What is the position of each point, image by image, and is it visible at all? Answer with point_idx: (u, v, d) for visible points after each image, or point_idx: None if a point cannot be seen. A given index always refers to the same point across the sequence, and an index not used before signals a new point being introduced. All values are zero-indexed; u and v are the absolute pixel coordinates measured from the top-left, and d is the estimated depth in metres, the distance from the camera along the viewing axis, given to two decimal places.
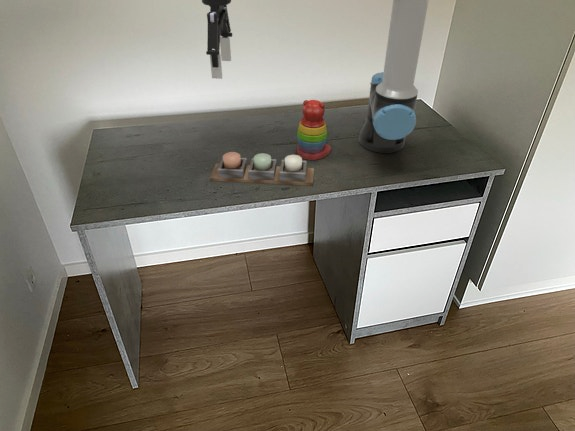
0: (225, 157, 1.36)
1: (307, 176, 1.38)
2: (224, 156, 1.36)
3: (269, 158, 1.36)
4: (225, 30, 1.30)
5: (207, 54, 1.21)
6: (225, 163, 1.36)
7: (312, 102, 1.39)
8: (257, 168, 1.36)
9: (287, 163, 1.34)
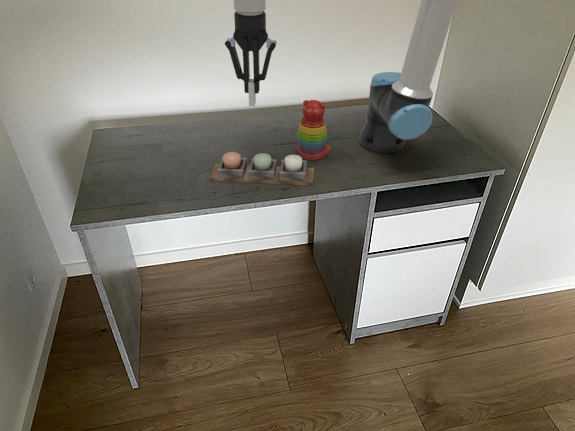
0: (225, 157, 1.36)
1: (307, 176, 1.38)
2: (224, 156, 1.36)
3: (269, 158, 1.36)
4: None
5: None
6: (225, 163, 1.36)
7: (312, 102, 1.39)
8: (257, 168, 1.36)
9: (287, 163, 1.34)
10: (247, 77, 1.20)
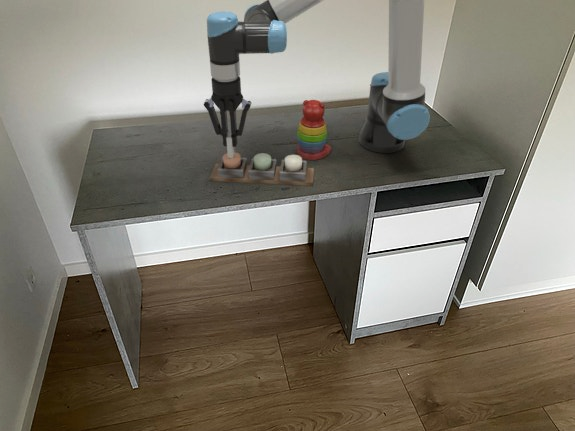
0: (225, 157, 1.36)
1: (307, 176, 1.38)
2: (224, 156, 1.36)
3: (269, 158, 1.36)
4: None
5: None
6: (225, 163, 1.36)
7: (312, 102, 1.39)
8: (257, 168, 1.36)
9: (287, 163, 1.34)
10: (225, 133, 1.31)
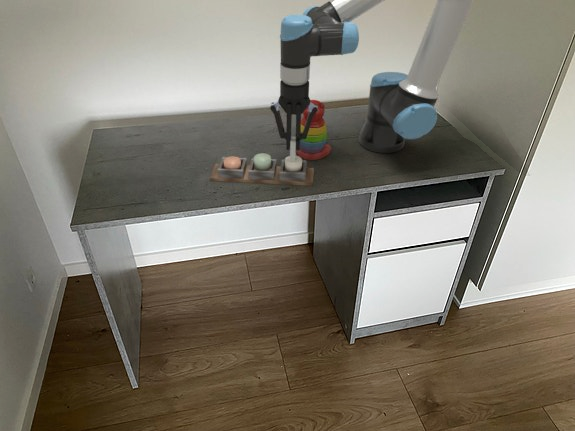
0: (225, 161, 1.37)
1: (307, 176, 1.38)
2: (224, 160, 1.37)
3: (269, 158, 1.36)
4: None
5: None
6: (225, 167, 1.37)
7: (312, 102, 1.39)
8: (257, 168, 1.36)
9: (287, 164, 1.34)
10: (289, 136, 1.30)
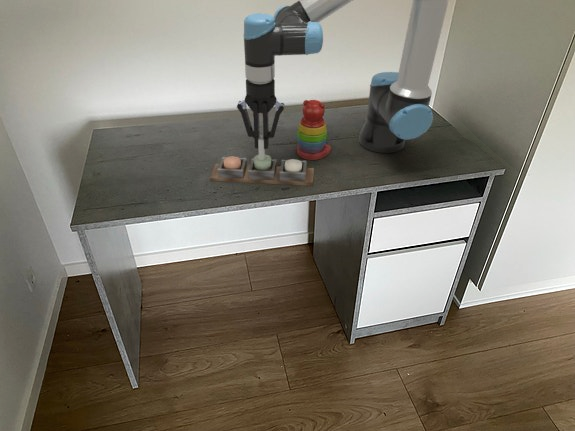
0: (225, 161, 1.37)
1: (307, 176, 1.38)
2: (224, 160, 1.37)
3: (269, 159, 1.36)
4: (263, 127, 1.29)
5: None
6: (225, 167, 1.37)
7: (312, 102, 1.39)
8: (257, 169, 1.36)
9: (287, 167, 1.35)
10: (257, 135, 1.30)
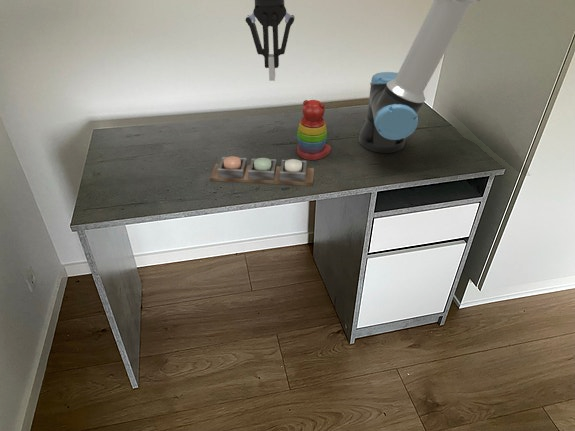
0: (225, 161, 1.37)
1: (307, 176, 1.38)
2: (224, 160, 1.37)
3: (269, 162, 1.36)
4: (273, 43, 1.25)
5: None
6: (225, 167, 1.37)
7: (312, 102, 1.39)
8: None
9: (287, 167, 1.35)
10: (267, 52, 1.26)
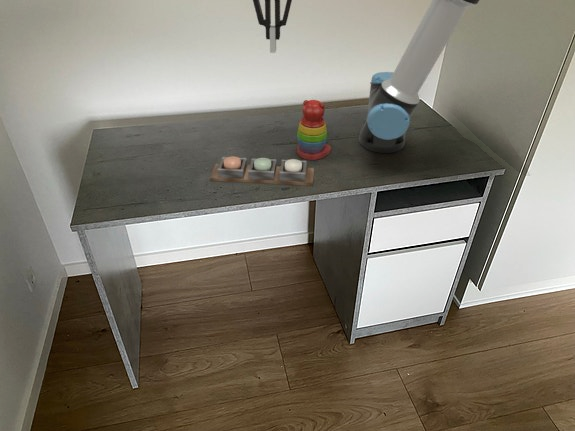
0: (225, 161, 1.37)
1: (307, 176, 1.38)
2: (224, 160, 1.37)
3: (269, 162, 1.36)
4: (275, 14, 1.24)
5: None
6: (225, 167, 1.37)
7: (312, 102, 1.39)
8: None
9: (287, 167, 1.35)
10: (268, 23, 1.25)
